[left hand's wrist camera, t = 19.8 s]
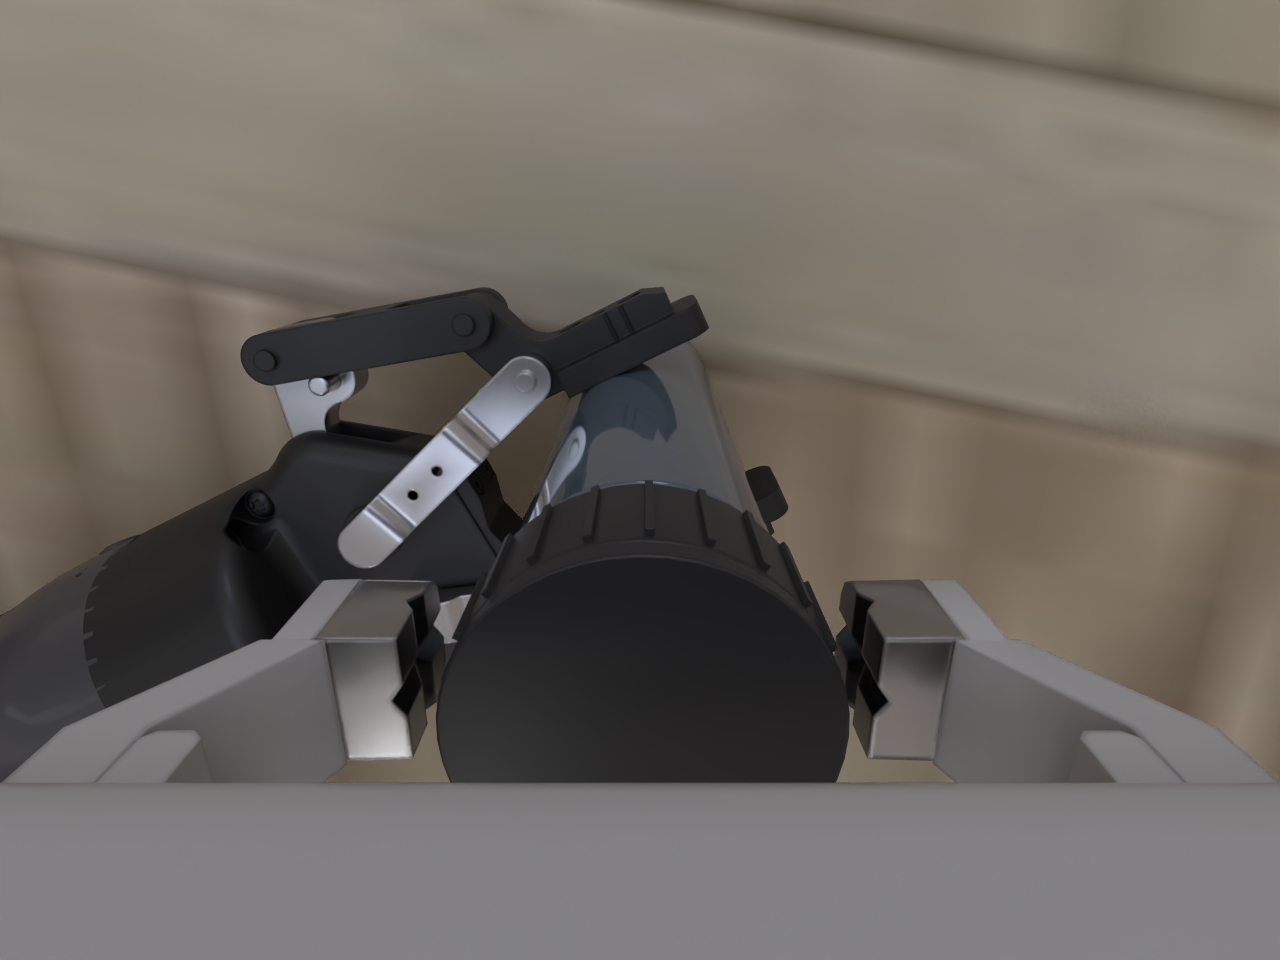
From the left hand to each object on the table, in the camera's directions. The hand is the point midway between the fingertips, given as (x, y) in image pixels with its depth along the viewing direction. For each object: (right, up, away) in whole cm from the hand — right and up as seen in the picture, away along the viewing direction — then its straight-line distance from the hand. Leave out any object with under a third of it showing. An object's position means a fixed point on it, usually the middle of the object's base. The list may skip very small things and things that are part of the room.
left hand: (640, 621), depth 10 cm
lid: (0, -1, -2) cm, 2 cm away
